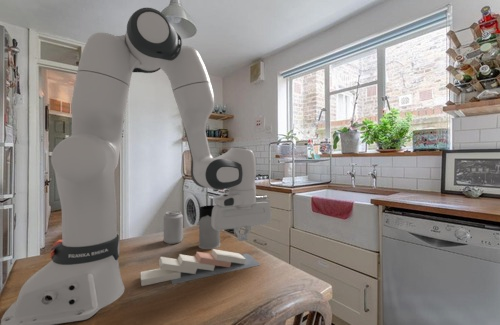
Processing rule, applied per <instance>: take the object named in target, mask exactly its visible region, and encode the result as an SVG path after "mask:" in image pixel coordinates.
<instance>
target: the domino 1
mask: <svg viewBox="0 0 500 325" xmlns="http://www.w3.org/2000/svg"><path fill="white" fill-rule="evenodd" d="M177 278H181V272H177V271H170V270H162V269H160V267H159V268H155V269H149V270H143V271H140V284H141V287H144V286H148V285H153V284H157V283H158V284H159V283H162V282H168V281H171V280H173V279H177Z"/></svg>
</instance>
